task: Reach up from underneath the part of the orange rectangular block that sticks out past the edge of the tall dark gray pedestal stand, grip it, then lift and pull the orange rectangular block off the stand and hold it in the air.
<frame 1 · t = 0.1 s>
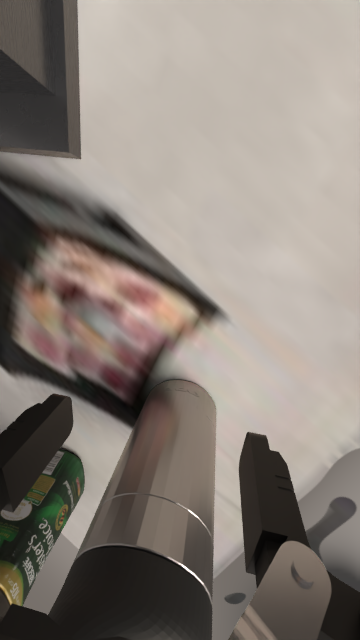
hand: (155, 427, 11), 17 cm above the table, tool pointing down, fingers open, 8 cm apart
coffee jar: (65, 467, 39), on the table
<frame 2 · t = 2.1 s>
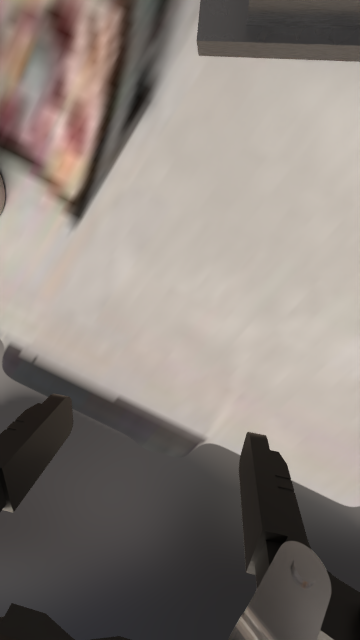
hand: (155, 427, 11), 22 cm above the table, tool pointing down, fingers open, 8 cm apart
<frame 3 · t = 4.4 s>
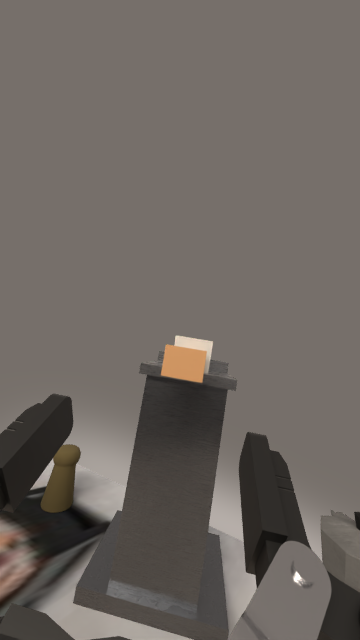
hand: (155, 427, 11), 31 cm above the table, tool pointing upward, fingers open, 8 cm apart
orange rectangular block: (188, 370, 37), point 32 cm above the table, touching dark gray pedestal stand
cork: (56, 503, 50), on the table
dark gray pedestal stand: (158, 570, 39), on the table
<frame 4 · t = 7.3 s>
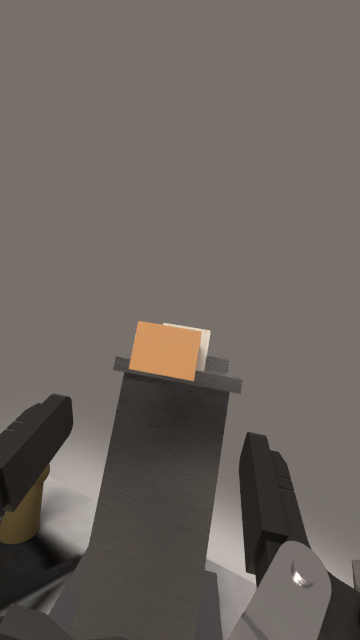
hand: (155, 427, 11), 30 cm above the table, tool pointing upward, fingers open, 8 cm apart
orange rectangular block: (179, 367, 28), point 32 cm above the table, touching dark gray pedestal stand
cork: (18, 531, 41), on the table
dark gray pedestal stand: (137, 627, 30), on the table
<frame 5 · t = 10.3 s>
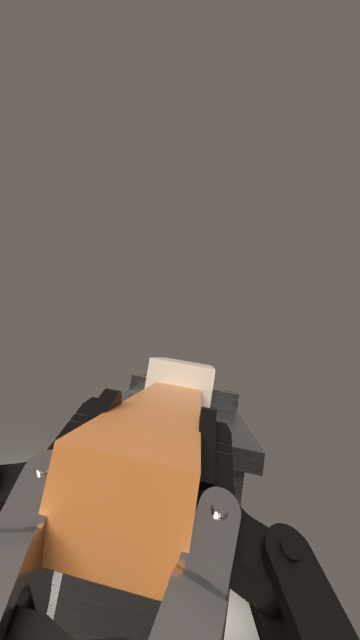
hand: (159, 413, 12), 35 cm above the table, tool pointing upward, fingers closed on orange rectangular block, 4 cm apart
orange rectangular block: (170, 425, 20), point 32 cm above the table, touching gripper, dark gray pedestal stand
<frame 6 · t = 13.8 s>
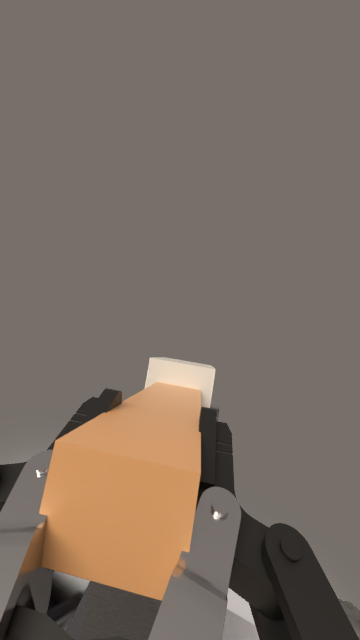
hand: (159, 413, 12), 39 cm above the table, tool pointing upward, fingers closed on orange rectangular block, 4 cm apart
orange rectangular block: (170, 425, 20), point 36 cm above the table, touching gripper
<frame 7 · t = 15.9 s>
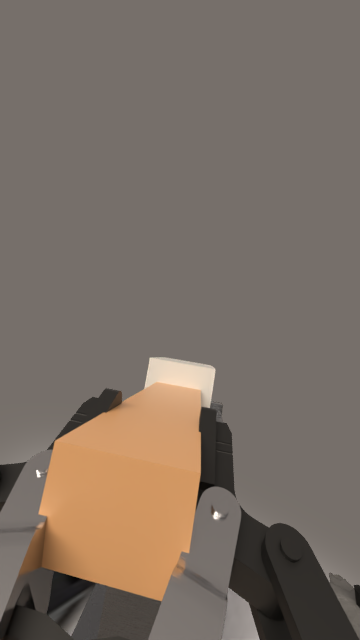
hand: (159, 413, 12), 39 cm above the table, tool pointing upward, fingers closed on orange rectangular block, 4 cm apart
orange rectangular block: (170, 425, 20), point 36 cm above the table, touching gripper
dark gray pedestal stand: (147, 634, 37), on the table
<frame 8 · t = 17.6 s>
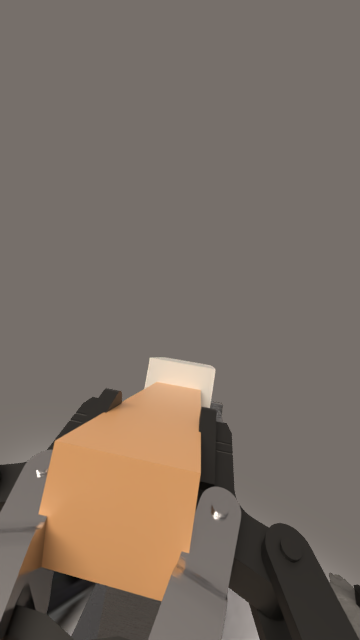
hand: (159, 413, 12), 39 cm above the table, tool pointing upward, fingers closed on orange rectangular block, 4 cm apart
orange rectangular block: (170, 425, 20), point 36 cm above the table, touching gripper
dark gray pedestal stand: (147, 634, 37), on the table
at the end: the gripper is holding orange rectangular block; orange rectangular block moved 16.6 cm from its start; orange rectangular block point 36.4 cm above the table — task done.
